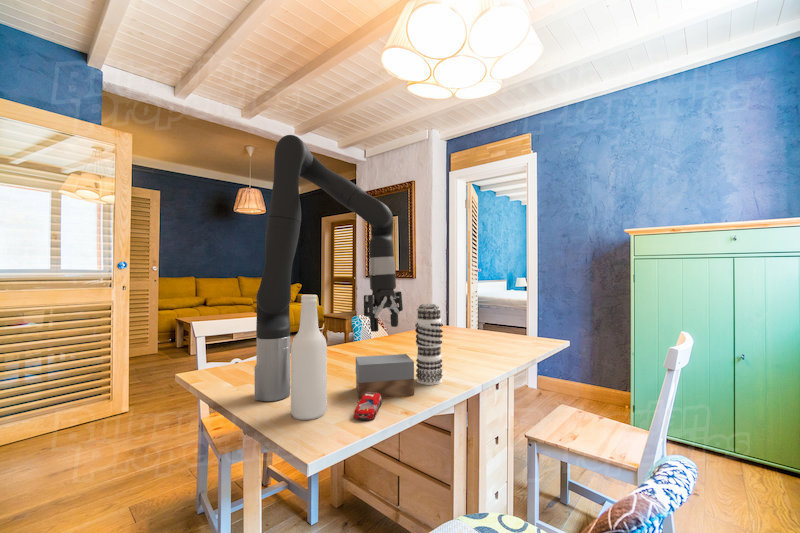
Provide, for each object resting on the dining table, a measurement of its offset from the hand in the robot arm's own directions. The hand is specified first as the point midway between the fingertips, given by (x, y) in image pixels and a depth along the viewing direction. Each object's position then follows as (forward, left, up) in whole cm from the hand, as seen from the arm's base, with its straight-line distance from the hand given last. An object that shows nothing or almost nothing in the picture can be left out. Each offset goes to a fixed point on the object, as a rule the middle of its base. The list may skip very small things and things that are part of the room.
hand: (384, 328), depth 102 cm
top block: (0, +4, -15) cm, 15 cm away
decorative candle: (+16, +11, -20) cm, 28 cm away
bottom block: (0, +4, -20) cm, 20 cm away
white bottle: (-21, -9, -20) cm, 30 cm away
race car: (-6, -10, -20) cm, 23 cm away
